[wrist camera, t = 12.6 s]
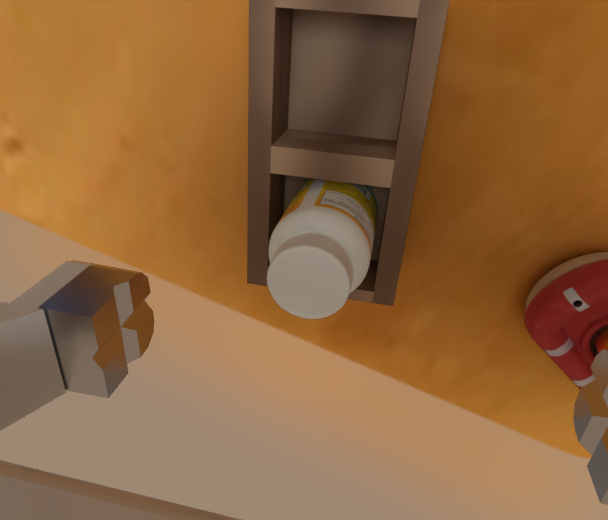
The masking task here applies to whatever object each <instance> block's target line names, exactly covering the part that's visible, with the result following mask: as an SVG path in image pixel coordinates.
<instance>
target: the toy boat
mask: <svg viewBox="0 0 608 520" xmlns="http://www.w3.org/2000/svg"><path fill="white" fill-rule="evenodd" d="M524 319H525V325H526V328H527V330H528V332H529V333H530V335H531V337H532V338H533V339H534V340H535V341H536V343H537V344H538V345H539V346H540V347H541V348H542V349H543V350H544V351H545V352H546V353H547V354H548V355H549V357H550V358H551V359H552V360H553V361H554V362H555V363H556V364H557V365H558V366H559V367H560V368H561V369H562V371H563V372H564V373H565V374H566V375H567V376H568V377H569V378H570V379H571V380H572V381H573V382H574V384H575V385H576V386H577V387H578V388H579V389H580V390H581V387H583V386H585V385H587V384H588V383H590V382H592V381H594V380H595V377H594V375H593V372H592V370H591V368H590V367H591V365H592V363H593V361H594V359H595V357H596V355H597V354H598V353H599V352H600V351H601V350H602V349H605V350H608V252H597V253H591V254H586V255H583V256H579V257H576V258H573V259H571V260H569V261H566V262H564V263H562V264H560V265H559V266H557V267H555V268H554V269H552V270H551V271H549V272H548V273H547V274H545V275H544V276H543V277H542V278H541V279H540V280H539V281H538V282H537V283H536V284H535V286H534V287H533V288H532V290H531V292H530V293H529V296H528V298H527V301H526V306H525V318H524Z"/></svg>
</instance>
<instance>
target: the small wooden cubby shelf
mask: <svg viewBox="0 0 608 520" xmlns="http://www.w3.org/2000/svg"><path fill="white" fill-rule="evenodd" d="M448 6H449V1H445V0H249V111H248V266H247V283H251V284H258V285H264V286H268V284H267V272H268V268H269V265H270V261H269V242H270V238H271V235H272V233H273V231H274V229H275V227H276V226H277V224H278V222H279V221H280V219H281V218H282V216H283V215H284V213H285V211H286V210H287V208H288V206H289V205H290V203H291V202H292V200H293V198H294V197H295V195H296V194H297V192H298V190H299V189H300V187H301V186H302V185H303V183H304V182H305V181H306V180H307V179H308V178H314V179H322V180H330V181H338V182H346V183H354V184H362V185H369V186H370V187H371V189H372V190H373V192H374V194H375V197H376V200H377V204H378V219H377V224H376V230H375V236H374V242H373V248H372V254H371V260H370V265H369V269H368V271H367V274H366V276H365V278H364V280H363V281H362V283H361V284H360V285H359V286H358V287H357V288H356V289H355V290H354V291H353V292H351V293H350V294H349V297H348V299H352V300H359V301H365V302H371V303H378V304H384V305H390V306H393V304H394V299H395V293H396V288H397V282H398V277H399V272H400V266H401V261H402V255H403V250H404V244H405V239H406V234H407V228H408V223H409V217H410V212H411V206H412V201H413V196H414V190H415V185H416V179H417V174H418V169H419V163H420V158H421V152H422V147H423V141H424V136H425V131H426V125H427V120H428V114H429V109H430V103H431V98H432V93H433V87H434V82H435V76H436V71H437V66H438V60H439V55H440V49H441V44H442V38H443V33H444V28H445V22H446V17H447V11H448Z"/></svg>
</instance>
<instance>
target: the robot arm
mask: <svg viewBox="0 0 608 520" xmlns="http://www.w3.org/2000/svg"><path fill="white" fill-rule="evenodd" d="M149 294H150V287H149V281H148V277H147V276H146V275H144V274H143V273H141V272H136V271H131V270H125V269H120V268H115V267H109V266H104V265H99V264H93V263H87V262H80V261H66V262H65V263H63V264H62V265H61V266H59V267H58V268H57V269H55V270H54V271H53V272H51V273H50V274H48V275H47V276H46V277H44V278H43V279H42V280H40V281H39V282H38V283H36V284H35V285H34V286H32V287H31V288H30V289H29V290H27V291H26V292H24V293H23V294H21V295H20V296H19V297H17V298H16V299H15V300H13V301H12V302H11V303H7V302H0V430H2V429H4V428H6V427H7V426H9V425H11V424H13V423H14V422H16V421H18V420H19V419H21V418H23V417H25V416H26V415H28V414H30V413H32V412H33V411H35V410H37V409H38V408H40V407H42V406H44V405H45V404H47V403H49V402H50V401H52V400H54V399H56V398H57V397H59V396H61V395H63V394H64V393H66V390H68V391H73V392H78V393H84V394H90V395H95V396H100V397H106V398H109V397H110V395H111V394H112V393H113V392H114V391H115V389H116V388H117V387H118V386H119V384H120V383H121V382H122V380H123V379H124V378H125V377H126V375H127V374H128V367H127V363H129V362H131V361H133V360H136V359H138V358H140V357H141V356H142V355H143V353H144V352H145V351H146V349H147V348H148V346H149V343H150V341H151V338H152V335H153V330H154V315H153V311H152V309H151V308H150V307H149V306H148V304H147V303H146V302H145V299H146V298H147V296H148V295H149ZM590 368H591V370H592V372H593V375H594V377H595V380H594V381H592V382H590V383H588V384H587V385H585V386H583V387H581V390H580V392H579V395H578V397H577V400H576V402H575V410H574V425H575V431H576V435H577V438H578V441H579V443H580V444H581V445H582V446H583V447H584V448H585V449H586V450H587V451H588V452H589V453H590V454H591V455H592V457H591V459H590V461H589V463H588V465H587V467H588V470H589V473H590V475H591V478H592V481H593V484H594V487H595V489H596V492H597V495H598V498H599V501H600V503H604V504H608V350H605V349H602V350H601V351H600V352H599V353H598V354H597V355H596V357H595V359H594V361H593V363H592V365H591V367H590ZM0 520H241V519H236V518H233V517H228V516H224V515H220V514H216V513H212V512H208V511H204V510H200V509H196V508H192V507H188V506H184V505H180V504H176V503H172V502H168V501H164V500H159V499H155V498H151V497H147V496H143V495H139V494H135V493H131V492H127V491H123V490H119V489H115V488H110V487H107V486H103V485H99V484H95V483H90V482H86V481H82V480H78V479H74V478H70V477H66V476H62V475H58V474H54V473H50V472H45V471H42V470H38V469H33V468H29V467H25V466H21V465H17V464H13V463H9V462H5V461H1V460H0Z"/></svg>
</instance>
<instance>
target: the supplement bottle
mask: <svg viewBox="0 0 608 520" xmlns="http://www.w3.org/2000/svg"><path fill="white" fill-rule="evenodd" d="M377 219H378V204H377V200H376V197H375V194H374V192H373V190H372V189H371V187H370V186H369V185H362V184H354V183H346V182H338V181H330V180H322V179H314V178H308V179H307V180H306V181H305V182H304V183H303V185H302V186H301V187H300V189H299V190H298V192H297V194H296V195H295V197H294V198H293V200H292V202H291V203H290V205H289V206H288V208H287V210H286V211H285V213H284V215H283V216H282V218H281V219H280V221H279V222H278V224H277V226H276V227H275V229H274V231H273V233H272V235H271V238H270V242H269V261H270V265H269V268H268V272H267V284H268V288H269V291H270V293H271V295H272V297H273V299H274V300H275V301H276V302H277V303H278V305H279V306H281V307H282V308H283V309H284V310H285V311H287V312H289V313H291V314H293V315H295V316H298V317H301V318H306V319H320V318H325V317H328V316H330V315H332V314H334V313H336V312H337V311H338V310H339V309H340V308H341V307H342V306H343V305H344V304H345V302H346V301H347V299H348V297H349V294H350V293H351V292H353V291H354V290H355V289H356V288H357V287H358V286H359V285H360V284H361V283H362V281H363V280H364V278H365V276H366V274H367V271H368V269H369V265H370V260H371V254H372V248H373V242H374V236H375V230H376V224H377Z"/></svg>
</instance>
